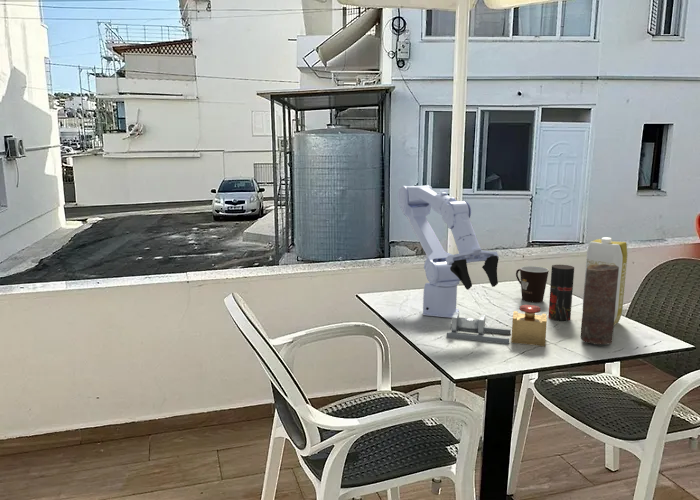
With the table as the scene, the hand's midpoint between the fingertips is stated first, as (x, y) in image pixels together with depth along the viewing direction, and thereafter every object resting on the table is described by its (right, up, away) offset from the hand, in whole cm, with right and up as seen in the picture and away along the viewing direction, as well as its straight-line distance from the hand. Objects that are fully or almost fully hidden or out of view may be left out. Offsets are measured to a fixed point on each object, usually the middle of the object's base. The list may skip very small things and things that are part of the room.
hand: (482, 286), depth 145 cm
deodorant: (+26, -10, +16) cm, 32 cm away
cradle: (-1, -13, +2) cm, 13 cm away
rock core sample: (+27, -14, -4) cm, 31 cm away
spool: (-3, -13, +2) cm, 13 cm away
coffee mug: (+24, -6, +36) cm, 44 cm away
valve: (+11, -14, -2) cm, 18 cm away
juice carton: (+36, -11, +13) cm, 40 cm away
